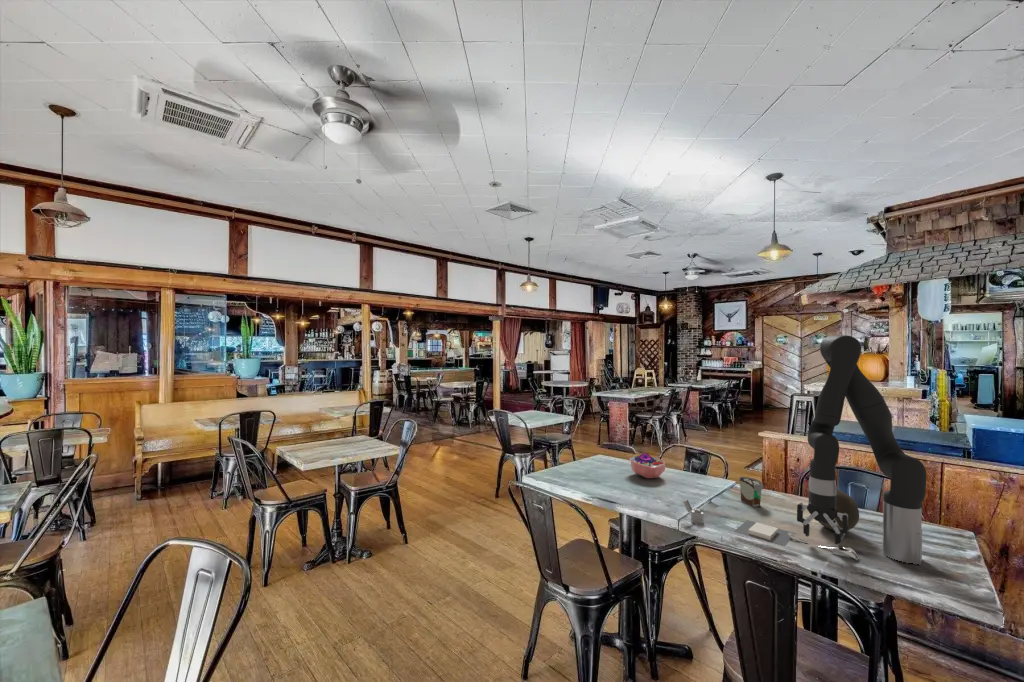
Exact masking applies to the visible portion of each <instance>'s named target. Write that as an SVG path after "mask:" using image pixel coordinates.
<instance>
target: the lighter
mask: <svg viewBox="0 0 1024 682" xmlns="http://www.w3.org/2000/svg"><path fill="white" fill-rule="evenodd" d="M682 502H683V504H684V507H685V509H686V511H687V512H688V513H689V512H691V514H690V516H691V517H690V520H691V521H690V523H691V524H695V525H698V524H701V525H704V522H705V521H704V520H705V519H704V518H705V517H704V515H705V514H704V511H703V512H702V510H701V509H699V508H694V509H692V505H691V503H690V501H689V500H688V499H685V500H682Z"/></svg>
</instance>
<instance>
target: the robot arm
mask: <svg viewBox="0 0 1024 682" xmlns="http://www.w3.org/2000/svg"><path fill="white" fill-rule="evenodd" d="M819 353H820V354H821V357H822V358H823V359H824V361H825V362H826V364H827V366H828V367H829V372H828V377H827V379H826V382H825V383H824V385H823V387H822V389H821V390H820V393H819V395H818V399H817V403H816V407H815V413H814V418H813V420H812V422H811V423H810V427H809V430H808V431H807V432H808V433H807V442H808V443H807V444H808V445H809V446H810V448H812V449H813V450H814V451H813V452H814V453H813V459H811V460H810V463H809V479H808V486H807V488H808V504H804V503H803V502H799V503H798V504H797V506H796V508H797V509H796V521H797V522H799V523H802V525H803V527H802V528H803V530H802V531H803V534H804V535H805V537H807V538H808V537H809V536H810V530H811V529H810V528H811V527H810V522H812V521H813V520H815V521H816V522H819V521H822V522H824V523H829V524H830V525H831V527H832V528H833V529H834V530H835V531H834V532H835V533H834V544H835V545H837V546H838V545H839V544H840V545H841V542H842V534H843V535H844V534H845V535H846V534H848V532H849V526H848V514H847V513H844V514H842V513H838V512H837V510H836V490H837V483H836V480H837V479H836V472H837V471H836V466H837V462H838V458H839V455H840V454H839V453H840V444H839V440H838V438H837V437H836V436H835V435H833V433H834V429H835V428H836V427H837V426H838V425H839V424H841V419H842V414H843V410H844V404H845V401H847V403H848V405H849V408H850V410H851V411H852V413H853V415H854V417H855V419H856V420H857V422H858V424H859V426H860V428H861V430H862V431H863V434H864V435H865V437H866V439H867V440H868V443H869V445H870V448H871V450H872V453H873V455H874V458H875V461H876V465H877V467H878V469H879V470H880V471H881V473H882V474H883V475H884V476H885V477H887V478H888V479H890V480H891V481H890V490H885V491H884V492H883V494H882V495H883V497H882V501H883V502H882V553H883V554H885V555H884V556H886V557H887V556H888V557H887V558H889V557H890V558H889V559H891V558H893V559H892V560H894V559H895V560H894V561H896V560H898V561H897V562H899V561H902V562H901V563H903V562H906V563H905V564H908V563H913V564H912V565H917V564H919V565H918V566H922V562H923V561H922V560H923V530H922V526H923V525H922V524H923V523H922V517H923V516H922V515H923V513H922V511H923V510H922V508H923V507H922V506H923V502H924V501H925V499H926V490H927V471H926V470H927V469H926V466H925V464H924V463H923V462H922V461H920V460H919V459H917V458H916V457H914V456H911V455H908V454H906V453H904V450H902V448H901V447H900V444H899V443H898V441H897V440H896V437H895V435H894V432H893V418H892V413H891V411H890V408H889V407H888V404H887V403H886V401H885V398H884V397H883V395H882V393H881V392H880V391H879V390H878V388H877V387H876V386H875V385H874V384H873V383H872V382H871V381H870V379H868V378H867V376H865V374H864V373H863V372H862V370H861V369H860V368H859V366H858V362H859V360H860V356H861V353H862V345H861V343H860V341H859V340H858V339H857V338H856V337H855V336H851V335H843V334H840V335H839V334H837V335H836V334H834V335H829V336H826V337H824V339H823V340H821V343H820V345H819ZM845 399H846V400H845ZM806 509H807V512H808V513H809V514H810V515H809V516H808V517H806V518H804V512H805V510H806ZM837 516H838V517H839V518H840V520H842V526H843V528H840V527H839V525H838V523H837V522H836V520H835V518H836V517H837Z"/></svg>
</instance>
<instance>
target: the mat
mask: <svg viewBox="0 0 1024 682" xmlns="http://www.w3.org/2000/svg"><path fill="white" fill-rule="evenodd" d="M755 523H757V522H756V521H752V520H749V519H747V520H745V521H744V522H742V524H740V525H739V526H738V527H737V528H736V529H735V530H734V532H735V533H740V534H743V535H746V536H749V537H752V538H755V539H758V540H762V541H766V542H770V543H772V544H776V545H779V546H781V547H782V546H783V547H786V545H787V544H789V542H790V541H791V539H792V538H791V537H790V536H788V533H792V534H794V535H796V533H795V532H792V531H789V530H785V529H782V528H778V533H777V534H776V535H775V536H774V537H773V538H772V539H771V540H767V539H763V538H760V537H757V536H753V535H750V534H748V530H749V529H750V528H751V527H752V526H753V525H754V524H755ZM791 536H792V537H794V536H793V535H791Z"/></svg>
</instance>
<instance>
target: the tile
mask: <svg viewBox="0 0 1024 682" xmlns="http://www.w3.org/2000/svg"><path fill="white" fill-rule="evenodd" d="M778 529H779V528H778V527H774V526H770V525H767V524H764V523H761V522H756V523H755V524H754V525H753V526H752V527H751V528H750V529H749V530H748V534H750V535H753V536H757V537H760V538H763V539H767V540H771V539H772V538H773V537H774V536H775V535H776V534H777V533H778Z"/></svg>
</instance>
